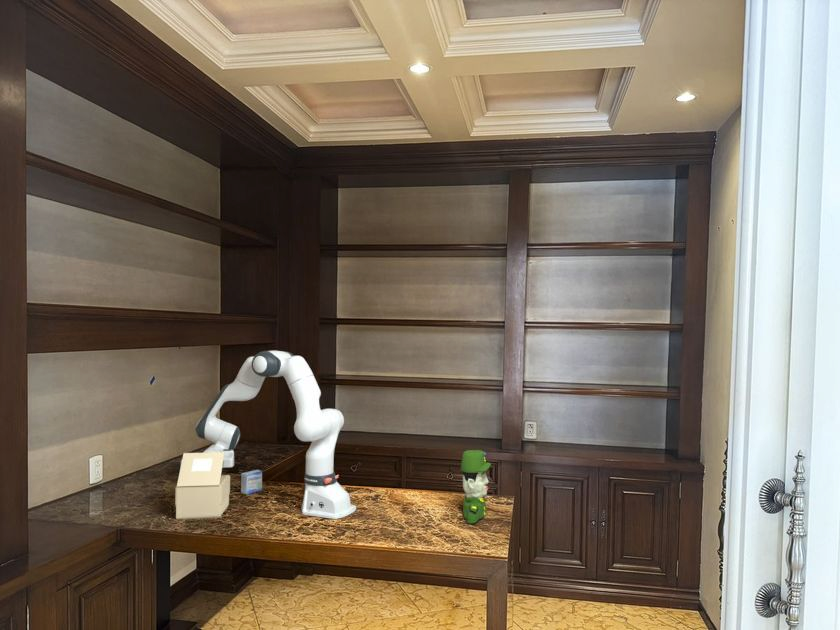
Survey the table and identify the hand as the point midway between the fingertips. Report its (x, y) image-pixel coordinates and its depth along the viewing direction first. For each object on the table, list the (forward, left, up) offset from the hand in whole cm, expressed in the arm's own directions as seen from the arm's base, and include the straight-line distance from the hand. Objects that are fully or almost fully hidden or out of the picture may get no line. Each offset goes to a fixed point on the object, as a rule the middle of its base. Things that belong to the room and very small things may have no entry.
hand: (202, 467), depth 205 cm
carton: (+1, -1, -18) cm, 18 cm away
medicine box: (+4, -28, -18) cm, 34 cm away
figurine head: (-92, -54, -18) cm, 108 cm away
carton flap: (-1, +1, 0) cm, 2 cm away
